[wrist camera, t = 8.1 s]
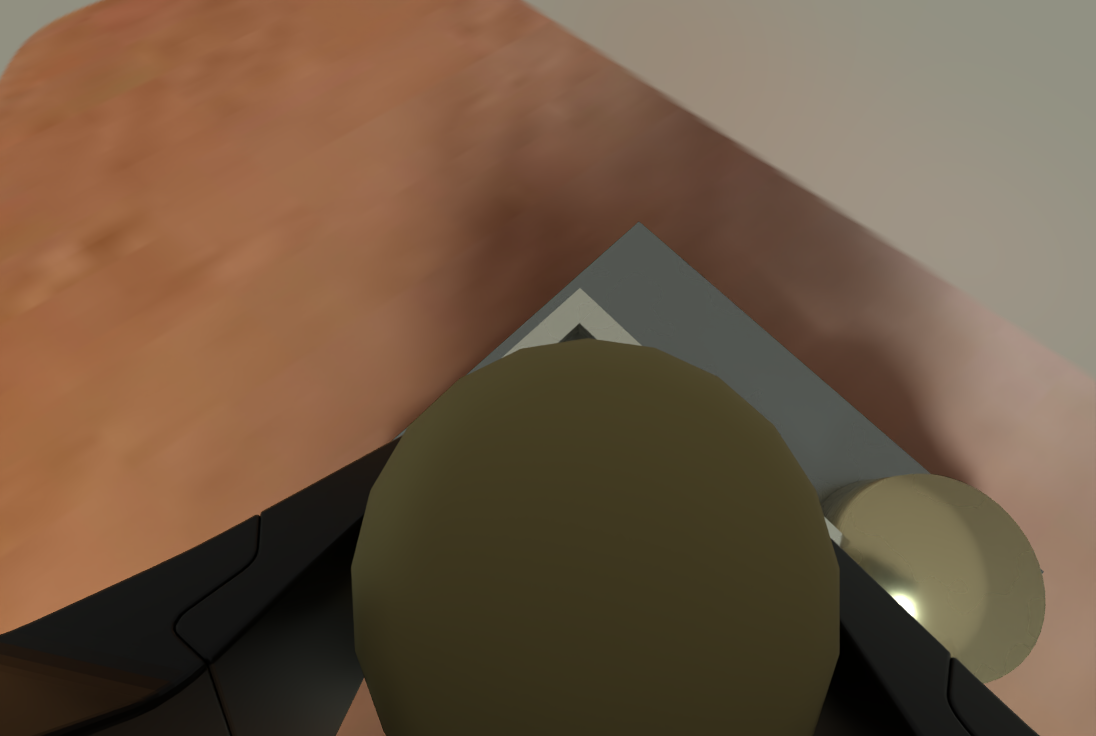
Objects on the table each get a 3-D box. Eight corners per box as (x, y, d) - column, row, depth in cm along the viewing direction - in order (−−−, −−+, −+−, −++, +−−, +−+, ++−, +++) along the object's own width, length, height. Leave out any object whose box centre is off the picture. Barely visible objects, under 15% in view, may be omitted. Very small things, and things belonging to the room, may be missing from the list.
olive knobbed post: (598, 707, 14) (730, 1327, 3) (423, 563, 15) (86, 662, 4) (716, 514, 15) (1090, 494, 4) (548, 395, 16) (526, 155, 6)
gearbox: (965, 563, 18) (1114, 579, 13) (688, 907, 15) (744, 1085, 11) (628, 261, 21) (647, 186, 17) (361, 503, 19) (291, 498, 14)
